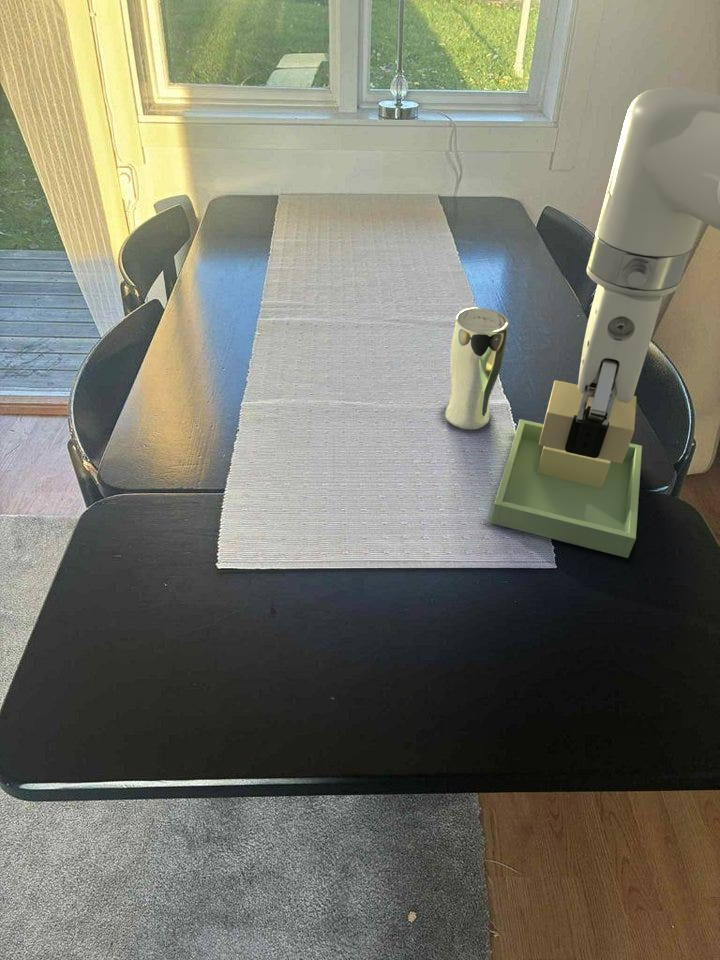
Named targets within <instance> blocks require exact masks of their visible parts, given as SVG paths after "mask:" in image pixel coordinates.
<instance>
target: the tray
mask: <svg viewBox="0 0 720 960" xmlns="http://www.w3.org/2000/svg"><path fill="white" fill-rule="evenodd" d="M543 425H544V423H541V422H540V423H539V422H534V421H531V420H525V419H522V418H520V419H519V420H518V424H517V427H516V431H515V434H514V437H513V441H512V444H511V447H510V451H509V454H508V457H507V460H506V463H505V466H504V467H505V468H504V470H503V474H502V477H501V480H500V484H499V487H498V490H497V494H496V497H495V501H494V504H493V507H492V508H493V509H492V513H491V519H490V524H493V525H496V526H501V527H504V528H509V529H512V530H516V531H520V532H523V533H528V534H533V535H535V536H540V537H544V538H547V539H551V540H555V541H559V542H563V543H566V544H567V543H568V544H571V545H575V546H578V547H583V548H587V549H590V550H595V551H598V552H602V553H606V554H610V555H613V556H617V557H622V558H626V559H628V558H629V557H630V554H631V552H632V549H633V547H634V545H635V542H636V540H637V527H638V515H639V514H638V512H639V497H640V483H641V469H642V456H643V455H642V454H643V445H640V444H635V443H631V442H630V444H629V447H628V450H627V453H626V455H625V458H624V461H623V463H618V462H613V461H611V464H610V467H609V470H608V473H607V476H606V478H605V481H604V484H603V487H602V488H597V487H593V486H589V485H585V484H580V483H576V482H572V481H568V480H563V479H559V478H555V477H551V476H546V475H542V474H538V473H537V471H538V467H539V463H540V459H541V454H542V450H543V446H541V445H539V442H540V438H541V434H542V429H543Z"/></svg>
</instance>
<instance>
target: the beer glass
mask: <svg viewBox="0 0 720 960" xmlns="http://www.w3.org/2000/svg"><path fill="white" fill-rule="evenodd" d="M455 319H456V320H455V324H454V328H453V331H452V337H451V344H450V351H449V359H450V360H449V365H450V366H449V367H450V369H449V370H450V384H451V389H450V390H451V391H450V398H449V401H448V404H447V407H446V409H445V414H444V416H445V419H446V420H447V421H448V423H450V424H451V425H453V426H454V427H456V428H459V429H462V430H478V429H481V428H483V427H485V426H487V425H488V423H489V421H490V401H491V400H490V399H491V396H492V393H493V389H494V387H495V384H496V382H497V380H498V377H499V375H500V372H501V369H502V366H503V363H504V359H505V354H506V349H507V342H508V330H509V324H510V322H509V319H508V317H507V316H506V315H504V314H503V313H502V312H500V311H498V310H494V309H492V308H486V307H470V308H465V309H463V310H461V311H459V313H458V314H457V315H456V318H455Z"/></svg>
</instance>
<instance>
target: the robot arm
mask: <svg viewBox="0 0 720 960" xmlns="http://www.w3.org/2000/svg"><path fill="white" fill-rule="evenodd" d="M702 223H705V224H707V225H708V226H710V227H712V228H714V229H716V230H718V231H720V95H719V94H717V93H713V92H709V91H705V90H700V89H693V88H688V87H687V88H685V87H657V88H652V89H648V90H645V91H643V92H641V93H639V94H638V95H637V96H636V97H635V98H634V99H633V100H632V101H631V104H630V105H629V107H628V109H627V112H626V115H625V119H624V121H623V125H622V130H621V134H620V137H619V141H618V145H617V149H616V153H615V157H614V160H613V165H612V168H611V172H610V177H609V180H608V184H607V188H606V192H605V195H604V200H603V203H602V207H601V211H600V216H599V219H598V223H597V227H596V231H595V234H594V239H593V243H592V248H591V250H590V254H589V259H588V262H587V266H586V269H585V271H586V274H587V276H588V277H589V279H590V280H591V281H592V282H594V283H595V284H597V285H596V289H595V291H594V296H593V300H592V305H591V308H590V313H589V316H588V320H587V325H586V330H585V334H584V339H583V344H582V351H581V359H580V366H579V373H578V381H577V385H578V390H579V391H580V393H581V394H583V395H582V399H581V403H580V407H579V410H578V414H577V415H574V417H573V421H572V424H571V428H570V431H569V435H568V438H567V442H566V445H565V451H566V452H568V453H573V454H577V455H582V456H586V457H591V458H598V457H599V454H600V451H601V448H602V445H603V442H604V439H605V436H606V433H607V430H608V427H609V422H608V421H609V418H610V414H611V411H612V407H613V403H614V400H615V397H616V393H617V396H618V401H624V403H628V402H630V401H631V400H633V396H635V393H636V389H637V386H638V382H639V379H640V376H641V373H642V369H643V367H644V364H645V360H646V356H647V354H648V349H649V347H650V343H651V340H652V338H653V334H654V332H655V331H654V330H655V327H656V323H657V320H658V316H659V313H660V308H661V305H662V300H663V296H667V295H670V294H672V293H674V292H675V291H677V290H678V288H679V286H680V283H681V279H682V277H683V274H684V271H685V269H686V267H687V264H688V263H687V262H688V260H689V258H690V254H691V251H692V248H693V247H694V243H695V241H696V237H697V235H698V232H699V230H700V228H701V227H700V226H701V224H702ZM589 387H592V388H596V389H592V388H589ZM589 397H593V401H592V404H591V406H587V408H586V405H587V401H588V398H589Z"/></svg>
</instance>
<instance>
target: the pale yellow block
mask: <svg viewBox="0 0 720 960" xmlns="http://www.w3.org/2000/svg"><path fill="white" fill-rule="evenodd" d="M610 464H611V461H609V460H604V459H600V458H591V457H586V456H582V455H577V454H573V453H568V452H566V451H563V450H559V449H554V448H550V447H545V446H543V450H542V454H541V459H540V463H539V467H538V471H537V473H538V474H542V475H546V476H551V477H555V478H559V479H563V480H568V481H572V482H576V483H580V484H585V485H589V486H593V487H597V488H602V487H603V484H604V481H605V478H606V476H607V473H608V470H609V467H610Z"/></svg>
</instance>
